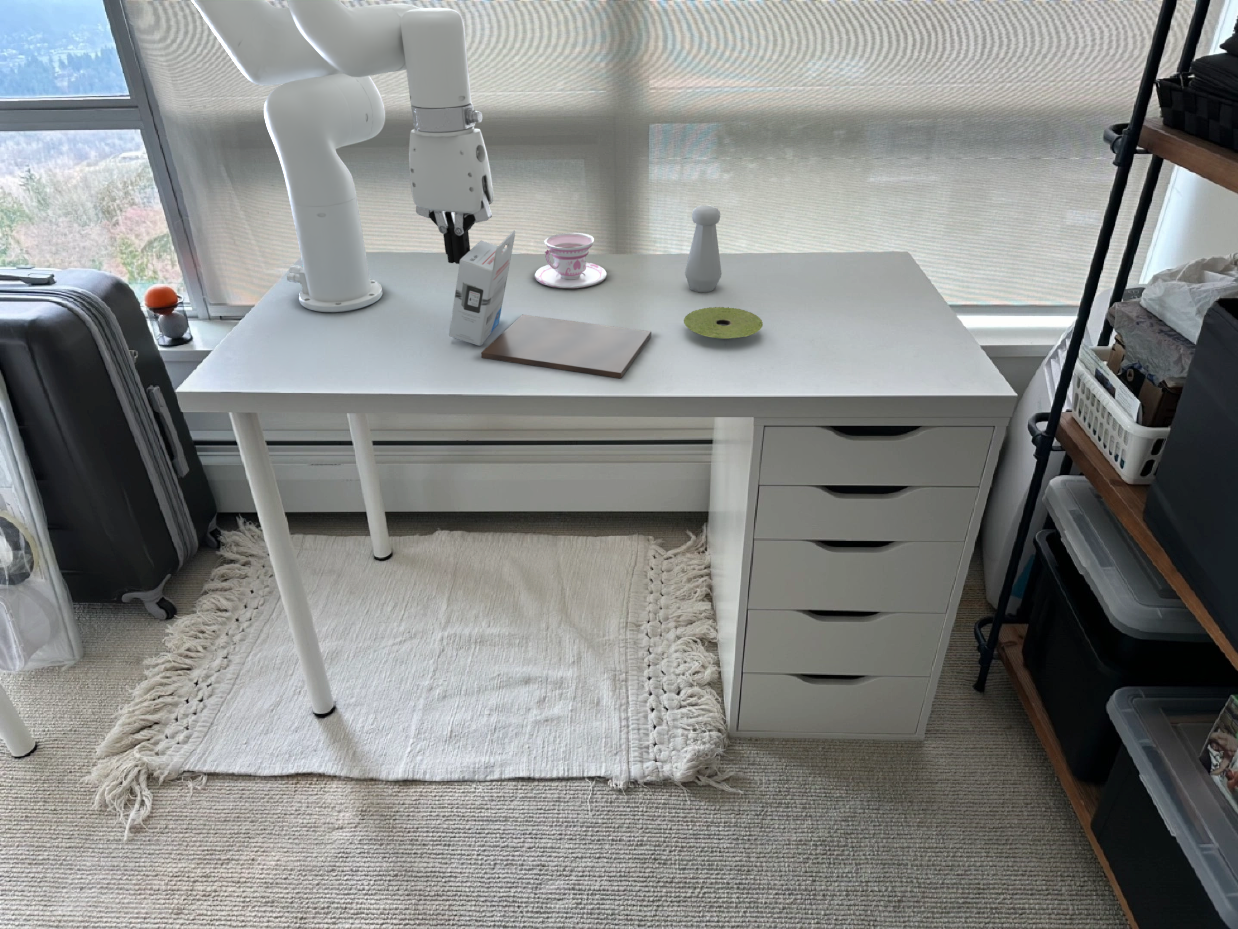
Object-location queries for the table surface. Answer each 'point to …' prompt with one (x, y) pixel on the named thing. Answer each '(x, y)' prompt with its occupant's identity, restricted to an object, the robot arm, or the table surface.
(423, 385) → the table surface
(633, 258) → the table surface
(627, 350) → the walnut board
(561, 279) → the teacup
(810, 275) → the table surface
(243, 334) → the table surface
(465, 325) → the ink box
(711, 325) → the green grinding disc
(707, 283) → the salt shaker
